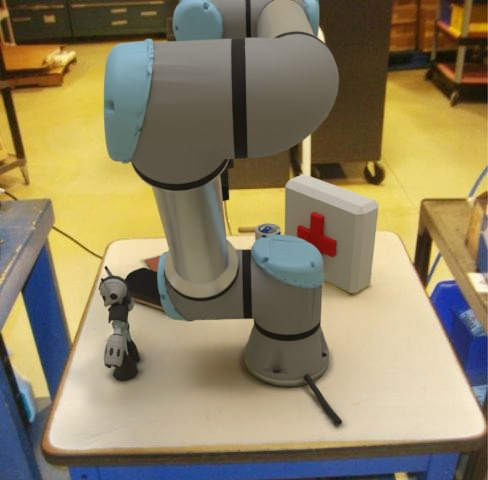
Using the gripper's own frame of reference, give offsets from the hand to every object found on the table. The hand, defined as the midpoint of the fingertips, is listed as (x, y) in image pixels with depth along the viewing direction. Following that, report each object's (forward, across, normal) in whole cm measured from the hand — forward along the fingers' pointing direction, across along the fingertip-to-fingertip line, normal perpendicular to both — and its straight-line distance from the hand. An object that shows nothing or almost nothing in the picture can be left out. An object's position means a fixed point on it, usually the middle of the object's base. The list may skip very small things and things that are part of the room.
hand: (213, 192), depth 122 cm
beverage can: (+21, -8, -8) cm, 24 cm away
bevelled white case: (+21, -8, -22) cm, 32 cm away
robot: (+21, -18, +26) cm, 38 cm away
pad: (+21, +14, +1) cm, 25 cm away
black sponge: (+21, +1, +13) cm, 25 cm away
